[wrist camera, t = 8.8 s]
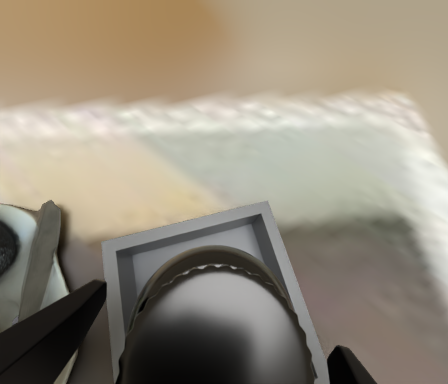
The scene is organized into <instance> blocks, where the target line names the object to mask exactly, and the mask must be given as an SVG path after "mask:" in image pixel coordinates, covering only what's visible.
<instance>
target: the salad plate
mask: <svg viewBox="0 0 448 384" xmlns="http://www.w3.org/2000/svg"><path fill="white" fill-rule="evenodd" d="M60 214H61V210H60V208H58V207H57V206H56V205H55V204H54V202H53V201H52V200H50V201H48V202H46V203H44V204H42V207H41V209H40V210H39V211H32V210H27V209H24V208H20V207H16V206H13V205H7V204H0V332H2V331H4V330H6V329H7V328H9V327H11V326H12V322H13V319H14V318H15V317H17V316H19V318H18V322H20V321H22V320H23V319H25V318H27V317H29V316H30V315H32V314H34V313H36V312H38V311H39V310H41V309H43V308H45V307H46V306H48V305H50V304H52V303H53V302H55V301H57V300H59V299H61V298H62V297H64V296H66V295H68V294H69V290H68V288H67V286H66V282H65V279H64V276H63V274H62V272H61V269H60V266H59V262H58V256H57V248H58V243H59V238H60V229H61V228H60V226H61V215H60ZM77 355H78V349H77V350H76V352H75V353H74V355H73V356H72V358H71V359H70V361H69V362H68V363H67V365H66V366H65V368H64V369H63V371H62V372H61V373H60V375H59V376H58V378H57V379H56V381H55V382H54V383H53V384H66V382H67V380H68V378H69V375H70V372H71V370H72V367H73V364H74V362H75V360H76V358H77Z"/></svg>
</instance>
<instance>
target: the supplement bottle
mask: <svg viewBox="0 0 448 384" xmlns="http://www.w3.org/2000/svg"><path fill="white" fill-rule="evenodd" d="M311 362H312V353H311V351H310V349H309V347H308V346H307V337H306V333H305V331H304V330H303V328H302V327H301V326H300V325H299V319H298V315H297V314H296V313H295V312H294V310H293V307H292V304H291V301H290V299H289V296H288V294H287V292H286V291H285V289H284V287H283V285H282V284H281V282H280V281H279V279H278V278H277V277H276V275H275V274H274V273H273V272H272V271H271V270H270V269H269V268H268V267H267V266H266V265H265V264H264V263H263V262H261V261H260V260H259V259H257V258H256V257H254V256H253V255H251V254H249V253H247V252H245V251H243V250H240V249H237V248H233V247H230V246H223V245H206V246H200V247H196V248H192V249H189V250H187V251H184V252H182V253H180V254H178V255H176V256H175V257H173V258H171V259H170V260H169V261H167V262H166V263H165V264H163V265H162V266H161V267H160V268H159V269H158V270H157V271H156V272H155V273H154V274H153V275H152V276H151V278H150V279H149V280H148V281H147V283H146V284H145V286H144V287H143V289H142V290H141V292H140V294H139V296H138V298H137V300H136V302H135V304H134V307H133V310H132V312H131V315H130V319H129V323H128V327H127V333H126V337H125V346H124V351H123V352H122V354H121V356H120V358H119V360H118V364H119V374H118V377H117V380H116V383H115V384H314V381H315V376H314V372H313V370H312V367H311Z"/></svg>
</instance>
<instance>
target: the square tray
mask: <svg viewBox="0 0 448 384" xmlns="http://www.w3.org/2000/svg"><path fill="white" fill-rule="evenodd" d="M101 244H102V255H103V266H104V278H105V281H106V282H107V297H106V300H107V312H108V323H109V334H110V346H111V357H112V368H113V380H114V384H115V383H116V380H117V377H118V374H119V364H118V360H119V358H120V356H121V354H122V352H123V351H124V346H125V337H126V333H127V327H128V323H129V319H130V315H131V312H132V310H133V307H134V304H135V302H136V300H137V298H138V296H139V294H140V292H141V290H142V289H143V287H144V286H145V284H146V283H147V281H148V280H149V279H150V278H151V276H152V275H153V274H154V273H155V272H156V271H157V270H158V269H159V268H160V267H161V266H162V265H163V264H165V263H166V262H167V261H169V260H170V259H171V258H173V257H175V256H176V255H178V254H180V253H182V252H184V251H187V250H189V249H192V248H196V247H200V246H206V245H223V246H230V247H233V248H237V249H240V250H243V251H245V252H247V253H249V254H251V255H253V256H254V257H256V258H257V259H259V260H260V261H261V262H263V263H264V264H265V265H266V266H267V267H268V268H269V269H270V270H271V271H272V272H273V273H274V274H275V275H276V277H277V278H278V279H279V281H280V282H281V284H282V285H283V287H284V289H285V291H286V292H287V294H288V296H289V299H290V301H291V304H292V307H293V310H294V312H295V313H296V314H297V315H298V319H299V325H300V326H301V327H302V328H303V330H304V331H305V333H306V337H307V346H308V347H309V349H310V351H311V353H312V362H311V367H312V370H313V372H314V376H315V381H314V384H330V383H329V375H328V367H327V362H326V359H325V357H324V354H323V351H322V348H321V346H320V343H319V340H318V337H317V335H316V332H315V329H314V326H313V324H312V321H311V318H310V315H309V313H308V310H307V307H306V304H305V302H304V299H303V296H302V293H301V291H300V288H299V285H298V282H297V280H296V277H295V274H294V271H293V269H292V266H291V263H290V260H289V258H288V255H287V252H286V249H285V247H284V244H283V241H282V238H281V236H280V233H279V230H278V227H277V225H276V222H275V219H274V216H273V214H272V211H271V208H270V205H269V203H268V201H264V202H260V203H256V204H252V205H248V206H244V207H240V208H236V209H232V210H228V211H223V212H219V213H215V214H211V215H207V216H203V217H199V218H195V219H191V220H187V221H183V222H179V223H175V224H171V225H167V226H163V227H159V228H155V229H151V230H147V231H143V232H139V233H135V234H131V235H127V236H123V237H119V238H115V239H111V240H107V241H103V242H101Z"/></svg>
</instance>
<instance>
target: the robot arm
mask: <svg viewBox="0 0 448 384" xmlns="http://www.w3.org/2000/svg"><path fill="white" fill-rule="evenodd" d="M106 297H107V282H106V281H104V280H100V279H94V280H92V281H91V282H89V283H87V284H85V285H84V286H82V287H80V288H78V289H76V290H75V291H73V292H71V293H69V294H68V295H66V296H64V297H62V298H61V299H59V300H57V301H55V302H53V303H52V304H50V305H48V306H46V307H45V308H43V309H41V310H39V311H38V312H36V313H34V314H32V315H30V316H29V317H27V318H25V319H23V320H22V321H20V322H18V323H16V324H14V325H13V326H11V327H9V328H7V329H6V330H4V331H2V332H0V384H53V383H54V382H55V381H56V379H57V378H58V376H59V375H60V373H61V372H62V371H63V369H64V368H65V366H66V365H67V363H68V362H69V361H70V359H71V358H72V356H73V355H74V353H75V352H76V350H77V349H78V347H79V346H80V344H81V343H82V341H83V339H84V338H85V336H86V334H87V332H88V331H89V329H90V327H91V325H92V324H93V322H94V320H95V318H96V317H97V315H98V313H99V311H100V310H101V308H102V306H103V304H104V302H105V300H106ZM327 367H328V375H329V383H330V384H377V383H376V382H375V380H374V379H373V378H372V376H371V375H370V374H369V373H368V371H367V370H366V369H365V368H364V366H363V365H362V364H361V363H360V361H359V360H358V359H357V357H356V356H355V355H354V354H353V352H352V351H351V350H350V349H349V348H347V347H343V346H340V345H337V346H336V347H335V348H334V350H333V351H332V352H331V354H330V355H329V357H328V359H327Z"/></svg>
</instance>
